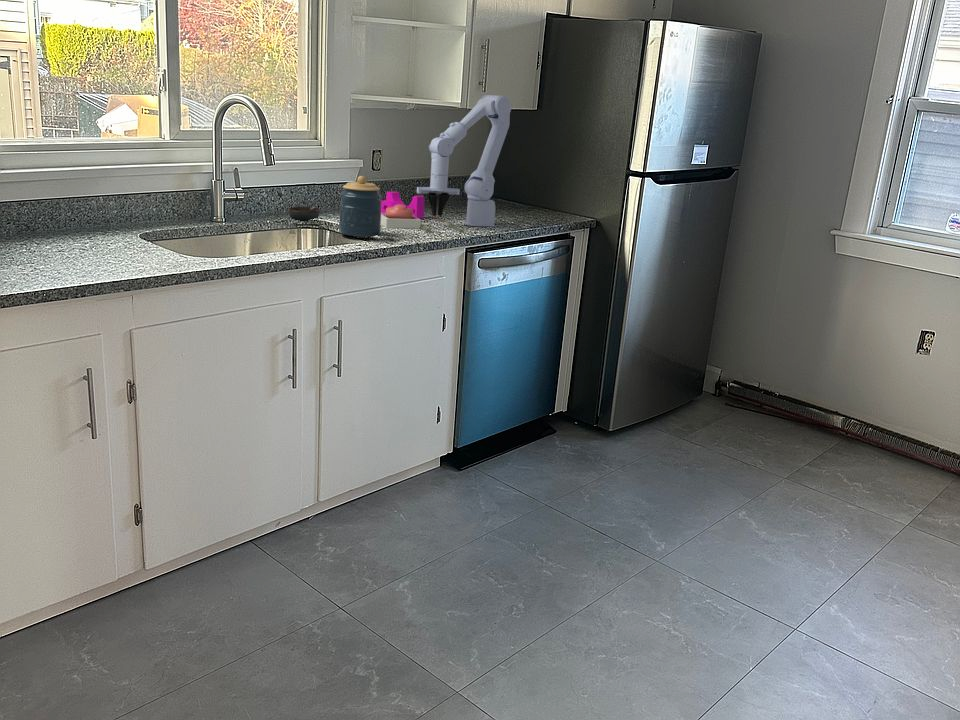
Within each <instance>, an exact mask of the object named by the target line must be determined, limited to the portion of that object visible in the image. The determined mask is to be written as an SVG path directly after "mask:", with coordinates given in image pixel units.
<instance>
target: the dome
mask: <svg viewBox="0 0 960 720" xmlns="http://www.w3.org/2000/svg"><path fill="white" fill-rule="evenodd" d="M386 217H387V218H390V219H413V209H409V208H406V207H405V206H404V205H400V204H399V205H395V206H394V207H388V208H386Z"/></svg>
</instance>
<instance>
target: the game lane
mask: <svg viewBox="0 0 960 720" xmlns="http://www.w3.org/2000/svg"><path fill="white" fill-rule="evenodd" d="M433 218H434V219H436V220H438V221H439V222H442V223H443V224H444V225H446V226H448V227H450V228H452V229H453V230H455V231H457V232H458V233H465V230H464V229H463V228H460V227H458V226H457V225H455V224H453V223H450V222H448V221H446V220H444V219H443V218H440V216H439V217H438V215H436V216H433ZM420 229H421V230H422V231H424V232H425V233H426V232H427V233H431V232H432V229H431V228H429V227H427V226H426V225H424V224H422V223H421V227H420Z"/></svg>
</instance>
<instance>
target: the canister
mask: <svg viewBox="0 0 960 720" xmlns="http://www.w3.org/2000/svg"><path fill="white" fill-rule="evenodd" d="M342 188H343V191H342V192H340V193H339V196H340V197H341V198H340V199H341V201H340V204H339V221H338V222H339V224H338V231H339V233H340V234H342V235H345V236H352V237H353V236H354V237H376V236H380V235H381V230H382V229H381V228H382V225H381V214H382V213H381V209H382V207H381V201H382V199H383V195H381V194H380V192H379V191H380V190H381V188H380V187H379V186H377V184H375V183H371V182H367V178H366V177H365V176H364V175H359V176H358V177H357V181H350V182H349V181H348V182H346V184H344V185H343V186H342Z"/></svg>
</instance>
